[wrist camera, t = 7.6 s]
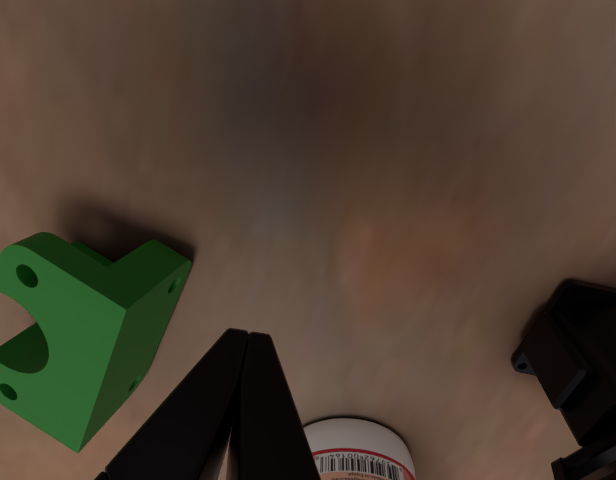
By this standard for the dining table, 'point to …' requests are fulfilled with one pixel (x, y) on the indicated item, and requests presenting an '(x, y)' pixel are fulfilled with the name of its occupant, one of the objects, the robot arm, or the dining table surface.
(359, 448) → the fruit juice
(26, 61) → the dining table surface
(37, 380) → the clamp
